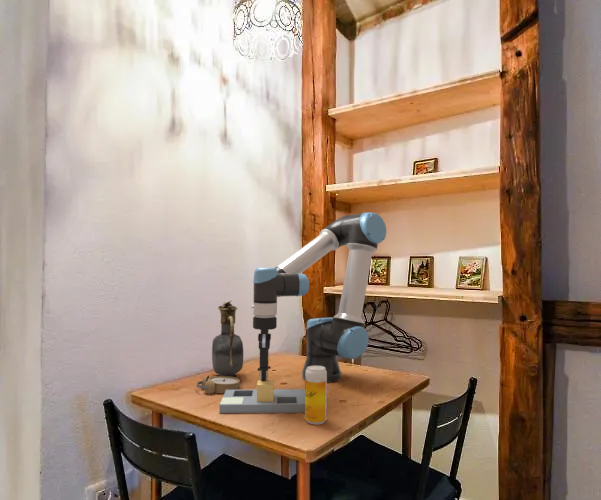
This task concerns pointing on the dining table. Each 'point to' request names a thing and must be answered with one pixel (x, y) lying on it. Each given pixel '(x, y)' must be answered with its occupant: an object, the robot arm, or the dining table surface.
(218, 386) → the alarm clock
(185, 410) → the dining table surface
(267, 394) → the block
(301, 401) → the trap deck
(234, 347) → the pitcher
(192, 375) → the dining table surface
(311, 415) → the beer can
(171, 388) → the dining table surface
